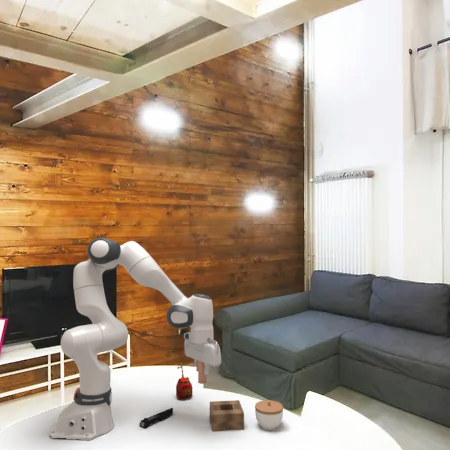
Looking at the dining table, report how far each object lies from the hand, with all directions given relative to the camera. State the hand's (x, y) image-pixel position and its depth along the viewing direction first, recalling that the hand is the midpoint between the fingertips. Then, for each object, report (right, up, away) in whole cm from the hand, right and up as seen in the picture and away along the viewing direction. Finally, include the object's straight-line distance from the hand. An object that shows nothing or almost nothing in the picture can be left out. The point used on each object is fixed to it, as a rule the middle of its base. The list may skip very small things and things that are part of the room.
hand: (202, 372), depth 151 cm
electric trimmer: (-18, -20, +3) cm, 28 cm away
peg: (0, -4, 0) cm, 4 cm away
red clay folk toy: (-10, -21, +25) cm, 34 cm away
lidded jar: (+26, -20, -2) cm, 33 cm away
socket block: (+9, -20, +1) cm, 22 cm away
